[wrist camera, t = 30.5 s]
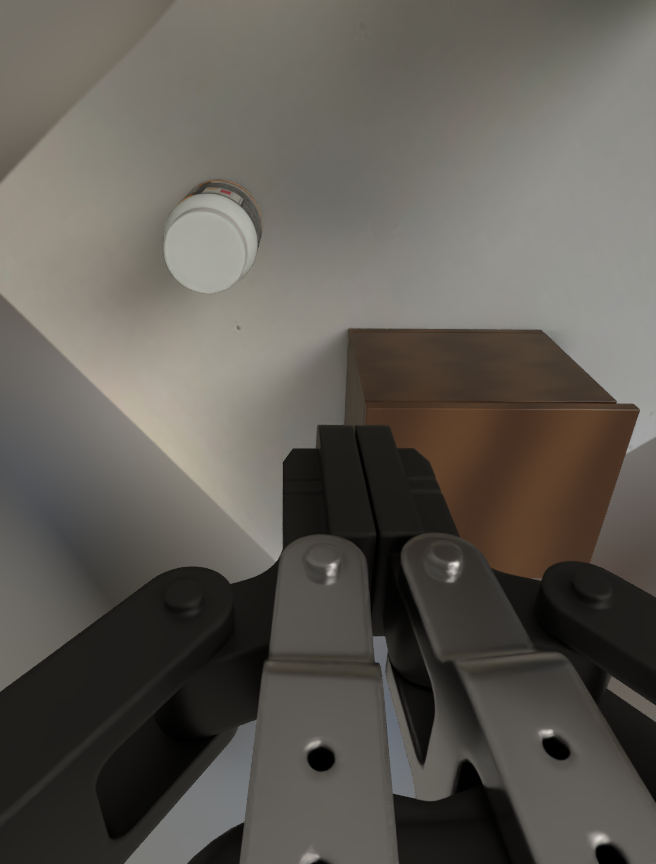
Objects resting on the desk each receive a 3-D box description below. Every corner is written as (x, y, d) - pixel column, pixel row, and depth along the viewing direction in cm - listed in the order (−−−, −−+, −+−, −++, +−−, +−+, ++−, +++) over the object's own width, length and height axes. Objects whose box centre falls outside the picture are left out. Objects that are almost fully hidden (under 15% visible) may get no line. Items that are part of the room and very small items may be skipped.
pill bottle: (186, 170, 40) (156, 189, 31) (269, 188, 41) (261, 212, 32) (179, 253, 43) (149, 292, 34) (256, 268, 43) (246, 310, 35)
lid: (633, 403, 36) (640, 409, 35) (580, 570, 42) (585, 578, 42) (365, 401, 35) (366, 407, 34) (354, 571, 42) (355, 579, 41)
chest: (541, 329, 47) (617, 401, 36) (511, 470, 54) (567, 567, 43) (348, 328, 46) (364, 400, 35) (342, 471, 53) (354, 570, 42)
